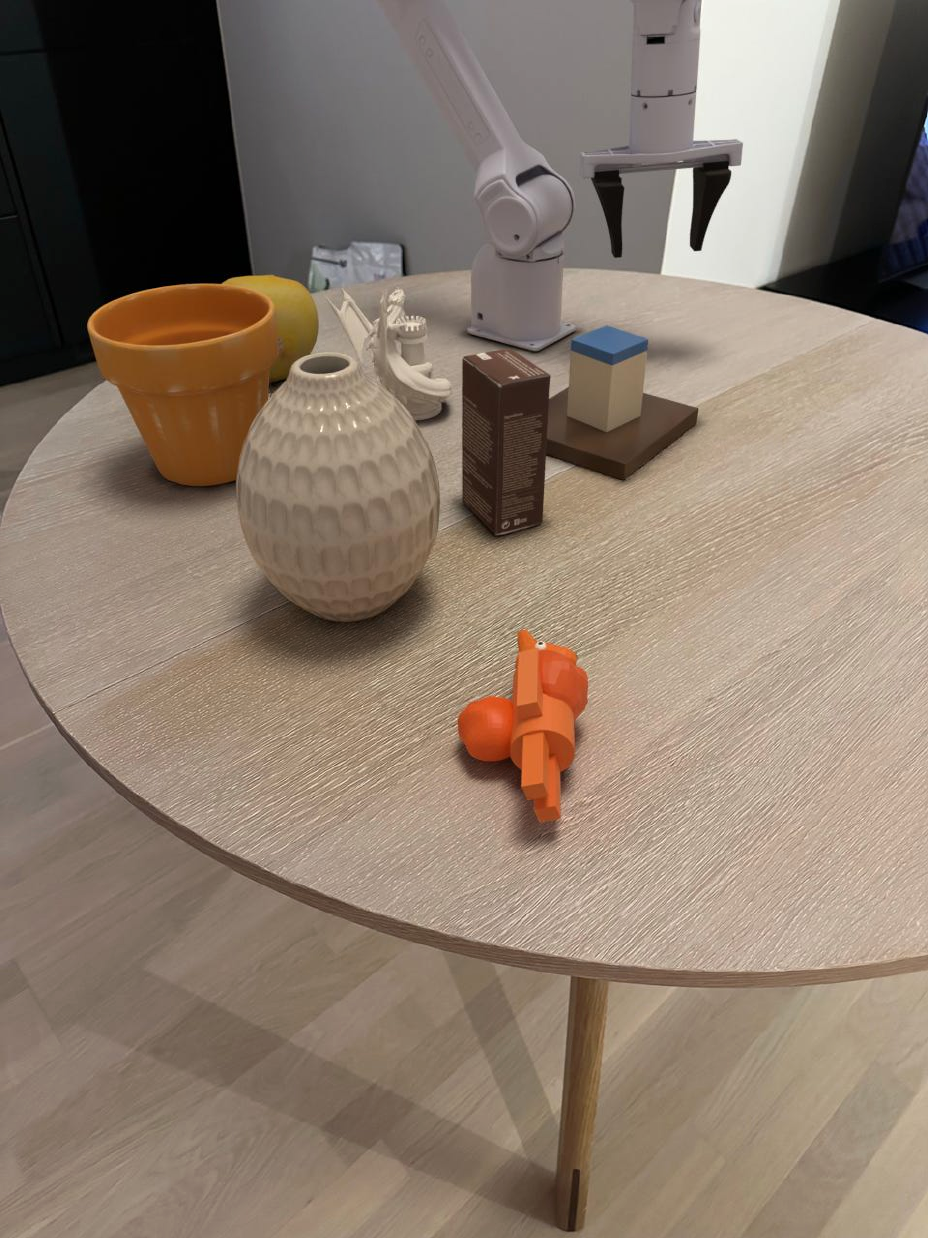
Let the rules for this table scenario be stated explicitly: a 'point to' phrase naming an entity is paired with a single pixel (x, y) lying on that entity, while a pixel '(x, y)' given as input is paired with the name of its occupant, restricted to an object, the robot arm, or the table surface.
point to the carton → (606, 377)
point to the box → (504, 439)
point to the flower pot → (190, 372)
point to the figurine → (396, 353)
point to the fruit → (286, 318)
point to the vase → (337, 491)
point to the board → (616, 435)
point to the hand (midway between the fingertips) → (656, 251)
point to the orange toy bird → (532, 721)
